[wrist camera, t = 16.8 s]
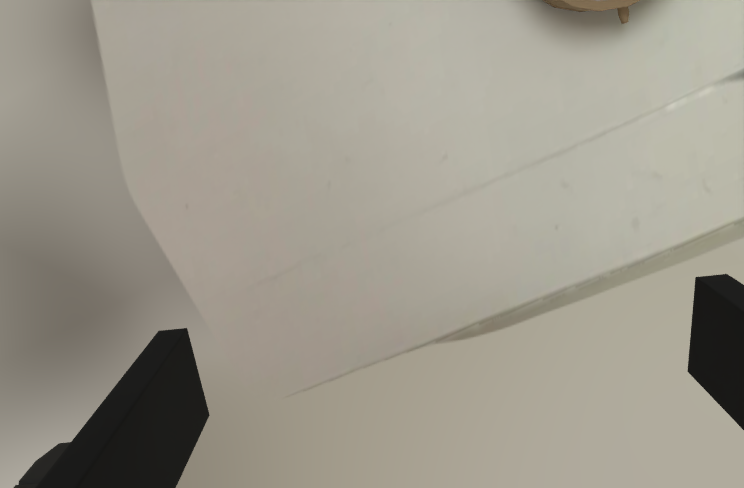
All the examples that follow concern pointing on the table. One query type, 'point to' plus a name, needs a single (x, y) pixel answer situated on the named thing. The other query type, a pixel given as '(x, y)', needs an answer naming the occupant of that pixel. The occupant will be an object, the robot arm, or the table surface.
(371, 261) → the table surface
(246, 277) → the table surface
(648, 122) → the table surface
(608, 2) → the alarm clock
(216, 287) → the table surface
